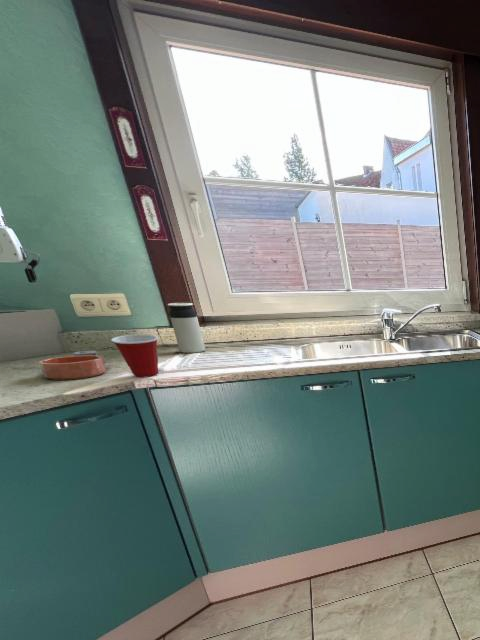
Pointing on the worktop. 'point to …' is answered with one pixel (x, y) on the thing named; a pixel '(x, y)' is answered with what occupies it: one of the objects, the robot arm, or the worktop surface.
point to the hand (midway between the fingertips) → (11, 282)
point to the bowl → (72, 367)
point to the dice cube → (85, 353)
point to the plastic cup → (139, 353)
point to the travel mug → (186, 328)
